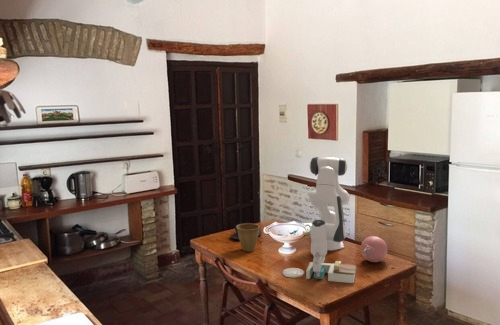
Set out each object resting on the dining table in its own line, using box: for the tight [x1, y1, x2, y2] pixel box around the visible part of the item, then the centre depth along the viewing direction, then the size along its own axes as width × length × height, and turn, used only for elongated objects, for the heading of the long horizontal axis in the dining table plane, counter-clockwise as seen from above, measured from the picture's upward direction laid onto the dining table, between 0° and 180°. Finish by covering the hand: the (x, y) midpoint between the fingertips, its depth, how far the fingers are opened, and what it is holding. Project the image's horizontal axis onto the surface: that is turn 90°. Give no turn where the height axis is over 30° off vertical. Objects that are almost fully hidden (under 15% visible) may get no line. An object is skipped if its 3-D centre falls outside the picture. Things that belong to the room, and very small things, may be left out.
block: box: [313, 268, 326, 280], centre depth 249 cm, size 5×5×4 cm
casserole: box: [229, 222, 263, 240], centre depth 324 cm, size 25×19×8 cm
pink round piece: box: [360, 235, 388, 263], centre depth 266 cm, size 15×20×15 cm
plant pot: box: [237, 223, 260, 252], centre depth 296 cm, size 15×15×16 cm
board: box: [305, 261, 357, 284], centre depth 249 cm, size 14×26×4 cm, turn 72°
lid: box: [333, 260, 357, 275], centre depth 245 cm, size 11×11×3 cm
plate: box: [282, 267, 305, 279], centre depth 255 cm, size 12×12×1 cm
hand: (319, 273), depth 249 cm, fingers closed on block, 5 cm apart
